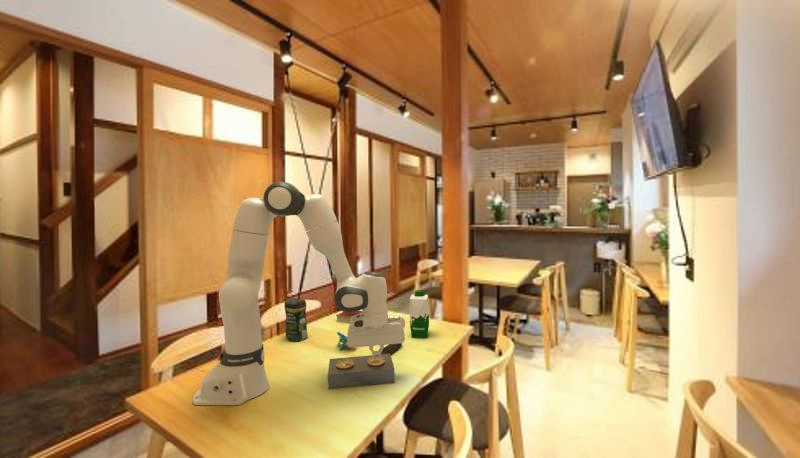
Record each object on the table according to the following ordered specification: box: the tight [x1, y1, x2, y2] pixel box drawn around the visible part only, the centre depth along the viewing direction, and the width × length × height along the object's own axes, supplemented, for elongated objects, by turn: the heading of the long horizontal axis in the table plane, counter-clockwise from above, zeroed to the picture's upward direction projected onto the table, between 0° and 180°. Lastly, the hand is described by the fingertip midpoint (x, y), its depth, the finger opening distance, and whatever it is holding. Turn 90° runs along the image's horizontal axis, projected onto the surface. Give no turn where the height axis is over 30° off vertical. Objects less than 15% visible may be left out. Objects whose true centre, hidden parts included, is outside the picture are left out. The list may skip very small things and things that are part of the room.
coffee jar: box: [284, 297, 309, 342], centre depth 161 cm, size 10×8×19 cm
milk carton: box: [408, 289, 430, 339], centre depth 161 cm, size 9×9×20 cm
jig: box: [327, 354, 396, 390], centre depth 123 cm, size 22×12×6 cm, turn 98°
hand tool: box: [381, 343, 403, 355], centre depth 142 cm, size 19×4×5 cm, turn 147°
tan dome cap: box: [367, 357, 385, 366], centre depth 124 cm, size 6×6×5 cm
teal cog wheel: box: [336, 331, 347, 351], centre depth 149 cm, size 11×6×10 cm
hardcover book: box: [335, 310, 362, 325], centre depth 184 cm, size 12×21×4 cm, turn 60°
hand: (376, 356), depth 124 cm, fingers closed
